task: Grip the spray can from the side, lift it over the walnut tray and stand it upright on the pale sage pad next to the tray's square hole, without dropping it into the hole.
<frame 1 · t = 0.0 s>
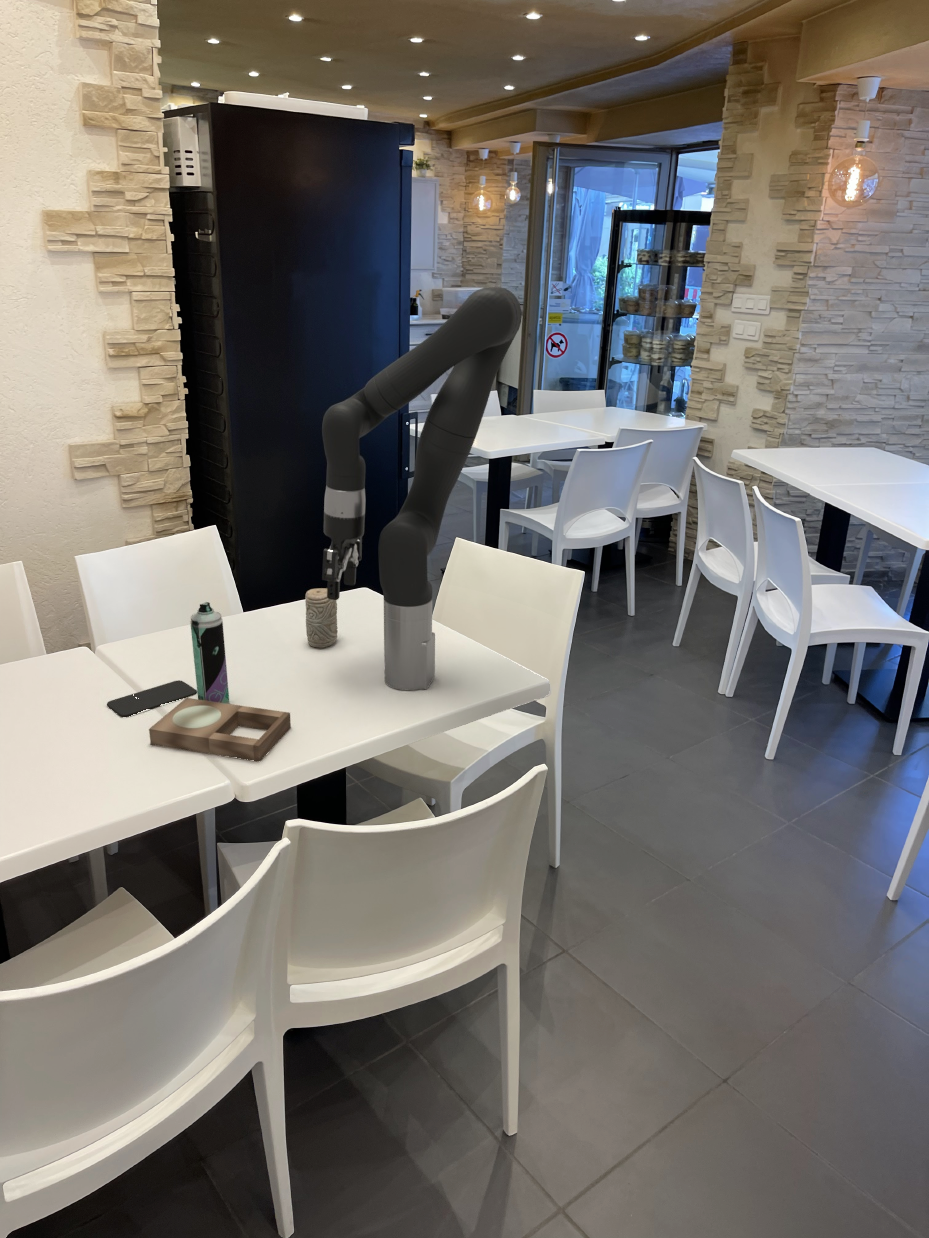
hand: (341, 591, 173), 17 cm above the table, tool pointing down, fingers open, 8 cm apart
carving: (322, 644, 192), on the table
walnut tray: (222, 736, 154), on the table
phone: (153, 701, 167), on the table
spray can: (214, 705, 165), on the table
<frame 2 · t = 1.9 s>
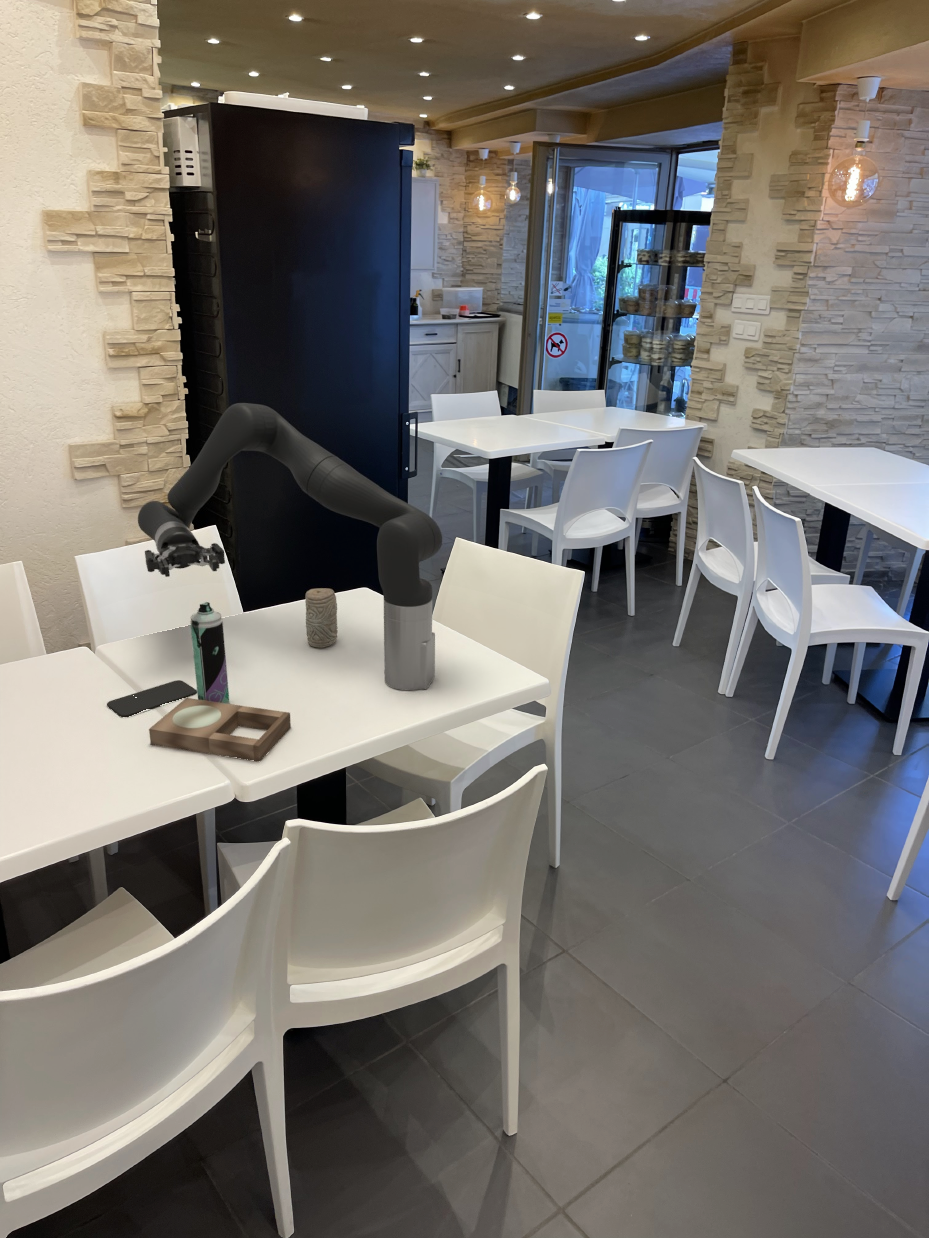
hand: (191, 569, 166), 23 cm above the table, tool horizontal, fingers open, 8 cm apart
nothing on the table moved.
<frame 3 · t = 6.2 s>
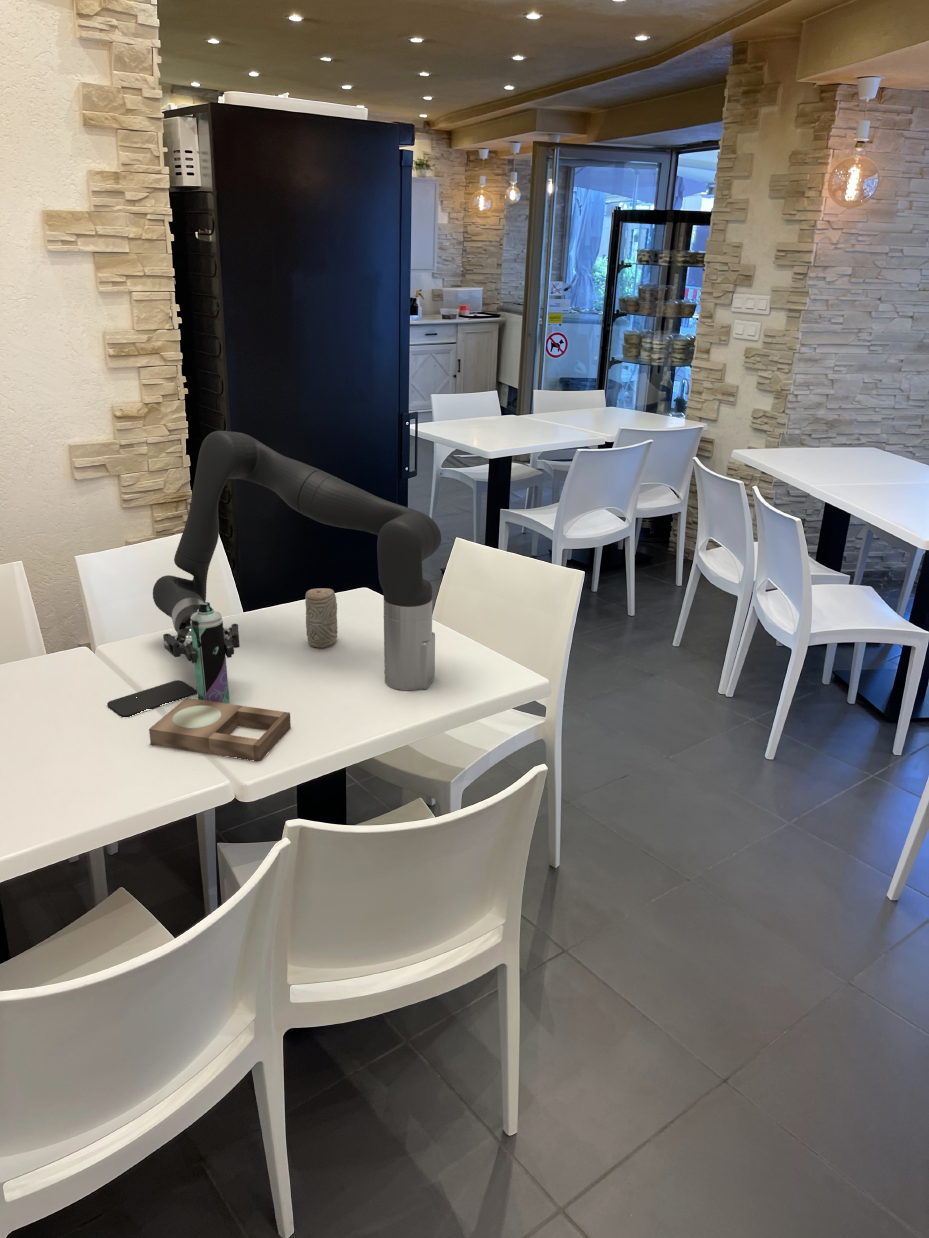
hand: (212, 655, 159), 11 cm above the table, tool horizontal, fingers closed on spray can, 5 cm apart
spray can: (214, 705, 165), on the table, touching gripper
everything else where it was.
when the fingers open (15 cm above the table, at t = 10.0 s): spray can stays where it is, resting on walnut tray.
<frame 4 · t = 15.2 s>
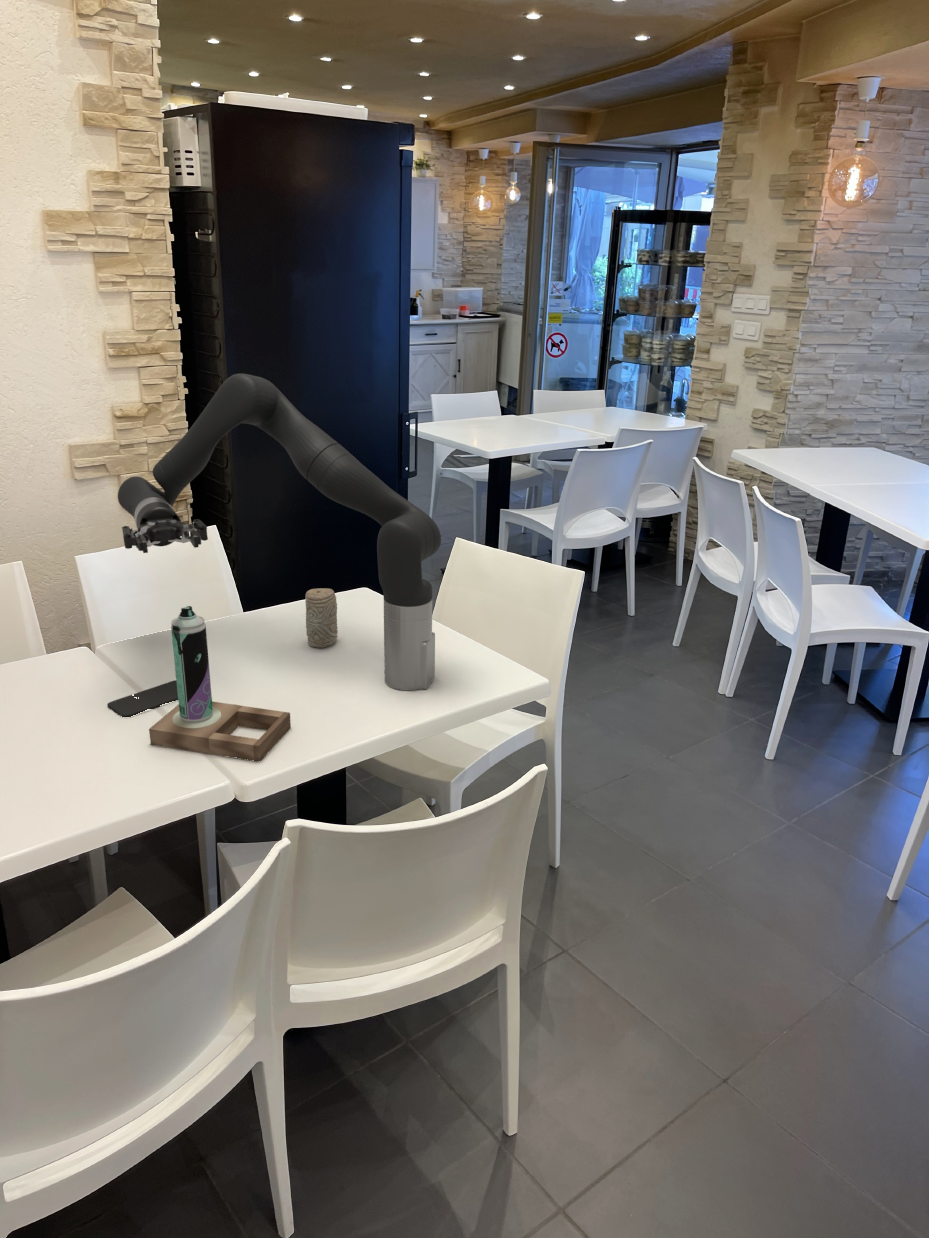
hand: (171, 544, 156), 30 cm above the table, tool horizontal, fingers open, 8 cm apart
spray can: (196, 716, 154), point 3 cm above the table, touching walnut tray
everything else where it was.
at the end: spray can 0.1 cm from the target spot on the walnut tray, point 3.0 cm above the walnut tray's base; spray can tilted 0°; the gripper is holding nothing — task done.
